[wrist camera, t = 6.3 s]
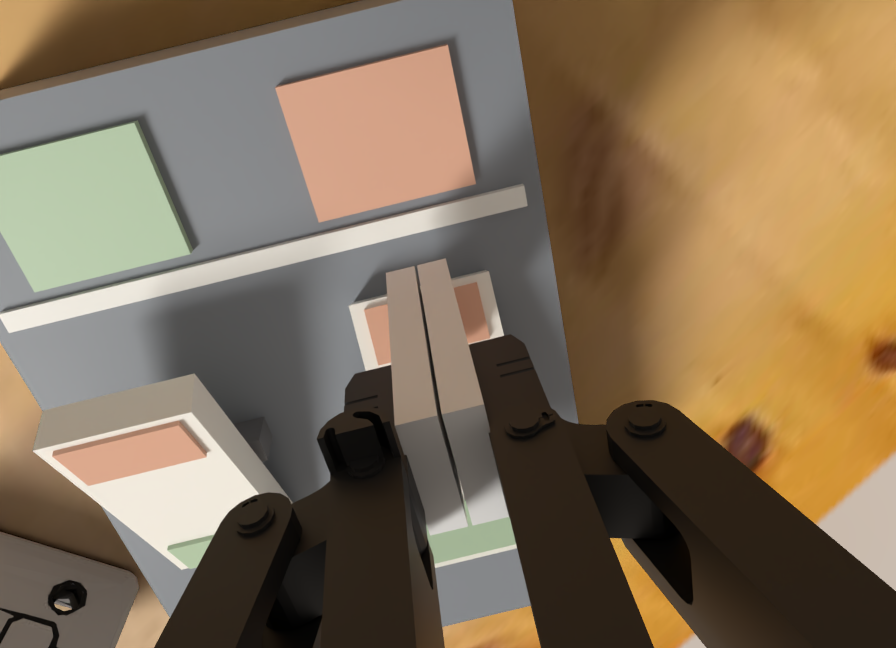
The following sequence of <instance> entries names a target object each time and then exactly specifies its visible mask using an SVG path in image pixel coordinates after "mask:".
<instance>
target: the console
mask: <svg viewBox="0 0 896 648" xmlns="http://www.w3.org/2000/svg"><path fill="white" fill-rule="evenodd" d="M445 258H446V262H447V265H448V269H449V273H450V277H451V278H455V277H459V276H463V275H467V274H471V273H475V272H479V271H483V270H487V271H489V274H490V278H491V282H492V287H493V291H494V295H495V299H496V304H497V308H498V312H499V316H500V321H501V325H502V329H503V333H504V336H505V335H509V334H511V335H513V336H514V337H516V338H517V339H519V340H520V341H522V342H523V343H525V346H526V348H527V351H528V353H529V356H530V359H531V360H532V363H533V365H534V369H535V370H536V373H537V375H538V378H539V380H540V382H541V385H542V387H543V390H544V392H545V395H546V397H547V400H548V402H549V404H550V407H551V408H552V409H553V410H555V411H556V412H557V413H558V415H559V416H560V417H561V418H562V419H564V420H566V421H568V422H572V423H576V424H579V423H578V417H577V410H576V404H575V397H574V391H573V385H572V378H571V372H570V365H569V359H568V353H567V346H566V340H565V334H564V327H563V321H562V314H561V308H560V302H559V295H558V289H557V283H556V276H555V270H554V263H553V257H552V251H551V244H550V238H549V231H548V225H547V219H546V212H545V206H544V200H543V193H542V187H541V180H540V174H539V168H538V161H537V155H536V148H535V142H534V136H533V129H532V123H531V117H530V110H529V104H528V97H527V91H526V85H525V78H524V72H523V65H522V59H521V53H520V46H519V40H518V34H517V27H516V21H515V14H514V8H513V2H512V0H361V1H357V2H353V3H348V4H344V5H340V6H336V7H332V8H328V9H324V10H320V11H316V12H312V13H308V14H304V15H300V16H296V17H292V18H288V19H284V20H280V21H276V22H272V23H268V24H264V25H260V26H256V27H252V28H248V29H244V30H240V31H236V32H232V33H228V34H224V35H220V36H216V37H212V38H207V39H203V40H199V41H195V42H191V43H187V44H183V45H179V46H175V47H171V48H167V49H163V50H159V51H155V52H151V53H147V54H143V55H139V56H135V57H131V58H127V59H123V60H119V61H115V62H111V63H107V64H103V65H99V66H95V67H91V68H87V69H83V70H79V71H75V72H70V73H66V74H62V75H58V76H54V77H50V78H46V79H42V80H38V81H34V82H30V83H26V84H22V85H18V86H14V87H10V88H6V89H2V90H0V343H1V344H2V346H3V347H4V349H5V351H6V352H7V354H8V356H9V357H10V359H11V360H12V362H13V364H14V365H15V367H16V369H17V370H18V372H19V373H20V375H21V377H22V378H23V380H24V382H25V383H26V385H27V386H28V388H29V390H30V391H31V393H32V395H33V396H34V398H35V399H36V401H37V403H38V404H39V406H40V408H41V409H42V411H43V410H47V409H51V408H55V407H59V406H63V405H67V404H72V403H76V402H80V401H84V400H88V399H92V398H96V397H100V396H104V395H108V394H112V393H117V392H121V391H125V390H129V389H133V388H137V387H141V386H145V385H149V384H153V383H158V382H162V381H166V380H170V379H174V378H178V377H182V376H186V375H190V374H194V373H195V375H196V376H197V377H198V379H199V380H200V381H201V383H202V384H203V385H204V387H205V388H206V389H207V390H208V392H209V393H210V394H211V396H212V397H213V398H214V400H215V401H216V402H217V404H218V405H219V406H220V408H221V409H222V410H223V411H224V413H225V414H226V415H227V417H228V418H229V419H230V421H231V422H232V423H233V425H234V426H235V427H236V429H237V430H238V431H239V433H240V434H241V435H242V436H243V438H244V439H245V440H246V442H247V443H248V444H249V446H250V447H251V448H252V450H253V451H254V452H255V454H256V455H257V456H258V458H259V459H260V460H261V461H262V463H263V464H264V465H265V467H266V468H267V469H268V471H269V472H270V473H271V475H272V476H273V477H274V479H275V480H276V481H277V482H278V484H279V485H280V486H281V488H282V489H283V490H284V492H285V493H286V494H287V496H288V497H289V498H290V500H291V501H292V502H293V503H294V502H296V501H298V500H300V499H302V498H304V497H306V496H309V495H311V494H312V493H314V492H316V491H317V490H319V489H321V488H322V487H323V486H324V485H326V484H327V483H328V482H329V481H330V472H329V469H328V467H327V464H326V462H325V459H324V457H323V454H322V452H321V449H320V447H319V444H318V442H317V437H318V434H319V431H320V429H321V428H322V427H323V426H324V425H325V424H326V423H327V422H328V421H329V420H330V419H332V418H333V417H335V416H337V415H338V414H340V413H342V412H344V406H345V404H344V400H345V388H346V386H347V385H348V383H349V382H350V380H351V379H352V377H353V376H354V374H355V373H360V372H364V371H366V370H365V367H364V363H363V359H362V355H361V351H360V347H359V344H358V340H357V336H356V332H355V328H354V324H353V321H352V317H351V313H350V309H349V305H350V304H352V303H353V302H357V301H361V300H365V299H369V298H373V297H377V296H381V295H385V294H387V284H386V273H388V272H392V271H396V270H400V269H404V268H408V267H412V266H415V270H416V274H417V278H418V281H419V285H420V280H419V274H418V268H417V265H420V264H424V263H429V262H433V261H437V260H441V259H445ZM101 507H102V506H101ZM102 508H103V507H102ZM103 510H104V512H105V513H106V515H107V516H108V518H109V520H110V521H111V523H112V525H113V526H114V528H115V529H116V531H117V533H118V534H119V536H120V538H121V539H122V541H123V542H124V544H125V546H126V547H127V549H128V551H129V552H130V554H131V555H132V557H133V559H134V560H135V562H136V564H137V565H138V567H139V568H140V570H141V572H142V573H143V575H144V577H145V578H146V580H147V581H148V583H149V585H150V586H151V588H152V590H153V591H154V593H155V594H156V596H157V598H158V599H159V601H160V603H161V604H162V606H163V607H164V609H165V611H166V612H167V614H168V616H169V617H171V615H172V613H173V611H174V609H175V608H176V606H177V604H178V602H179V600H180V598H181V596H182V594H183V593H184V591H185V589H186V587H187V585H188V583H189V581H190V579H191V578H192V576H193V574H194V572H195V570H196V568H193V569H189V568H187V569H183V570H181V569H180V568H179V567H177V566H176V565H175V564H174V563H172V562H171V561H170V560H169V559H167V558H166V557H165V556H164V555H162V554H161V553H160V552H159V551H157V550H156V549H155V548H154V547H152V546H151V545H150V544H149V543H147V542H146V541H145V540H144V539H142V538H141V537H140V536H139V535H137V534H136V533H135V532H134V531H132V530H131V529H130V528H129V527H127V526H126V525H125V524H123V523H122V522H121V521H120V520H118V519H117V518H116V517H115V516H113V515H112V514H111V513H110V512H108V511H107V510H106V509H105V508H103ZM435 573H436V581H437V589H438V597H439V605H440V614H441V622H442V627H444V626H448V625H452V624H456V623H460V622H464V621H469V620H473V619H477V618H481V617H485V616H489V615H494V614H498V613H502V612H506V611H510V610H514V609H519V608H523V607H527V606H531V604H530V600H529V596H528V592H527V587H526V583H525V579H524V575H523V571H522V567H521V563H520V559H519V554H518V550H517V548H516V549H512V550H508V551H504V552H500V553H496V554H491V555H487V556H483V557H479V558H475V559H471V560H466V561H462V562H458V563H454V564H450V565H446V566H442V567H437V568H435Z"/></svg>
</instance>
